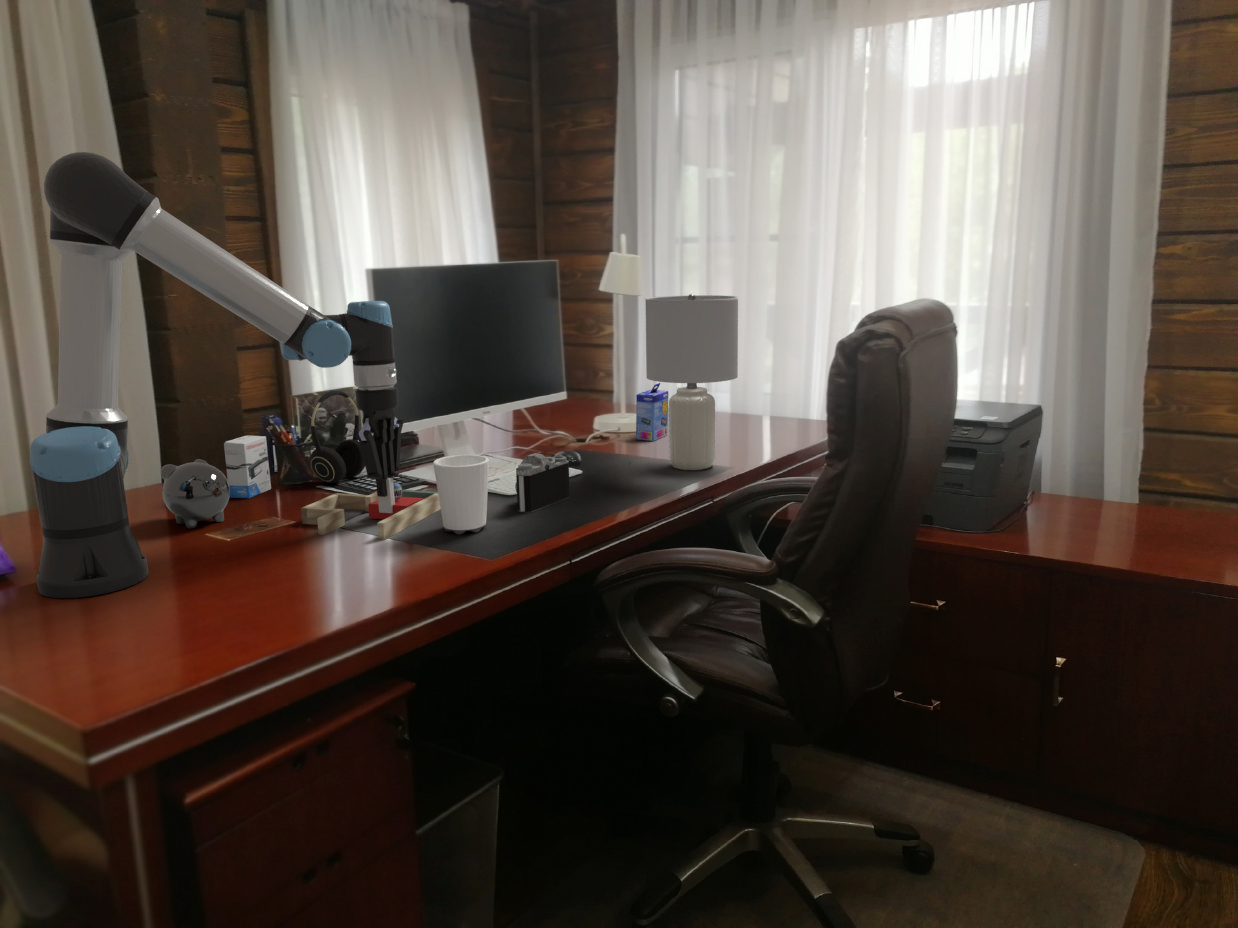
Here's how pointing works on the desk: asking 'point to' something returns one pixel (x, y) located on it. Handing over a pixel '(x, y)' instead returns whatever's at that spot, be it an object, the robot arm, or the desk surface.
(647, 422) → the ink cartridge box
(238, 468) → the ink box
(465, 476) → the cup
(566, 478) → the camera
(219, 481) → the piggy bank
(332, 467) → the headphones
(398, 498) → the red rectangular block
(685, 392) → the lamp
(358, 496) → the channel
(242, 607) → the desk surface
